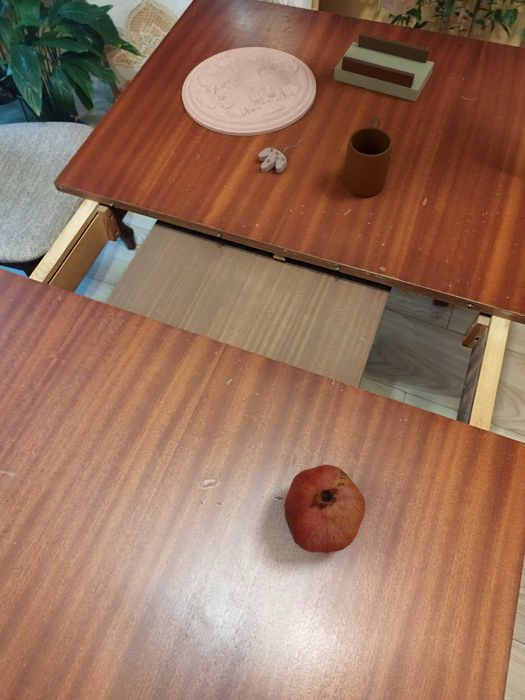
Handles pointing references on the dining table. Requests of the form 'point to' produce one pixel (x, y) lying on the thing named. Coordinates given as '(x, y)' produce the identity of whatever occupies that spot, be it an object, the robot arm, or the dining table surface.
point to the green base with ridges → (385, 66)
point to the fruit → (324, 509)
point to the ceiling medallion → (249, 91)
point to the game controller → (273, 159)
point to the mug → (367, 159)
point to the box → (396, 6)
